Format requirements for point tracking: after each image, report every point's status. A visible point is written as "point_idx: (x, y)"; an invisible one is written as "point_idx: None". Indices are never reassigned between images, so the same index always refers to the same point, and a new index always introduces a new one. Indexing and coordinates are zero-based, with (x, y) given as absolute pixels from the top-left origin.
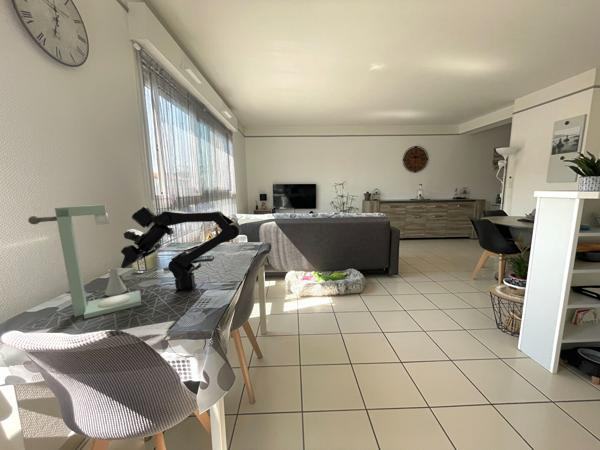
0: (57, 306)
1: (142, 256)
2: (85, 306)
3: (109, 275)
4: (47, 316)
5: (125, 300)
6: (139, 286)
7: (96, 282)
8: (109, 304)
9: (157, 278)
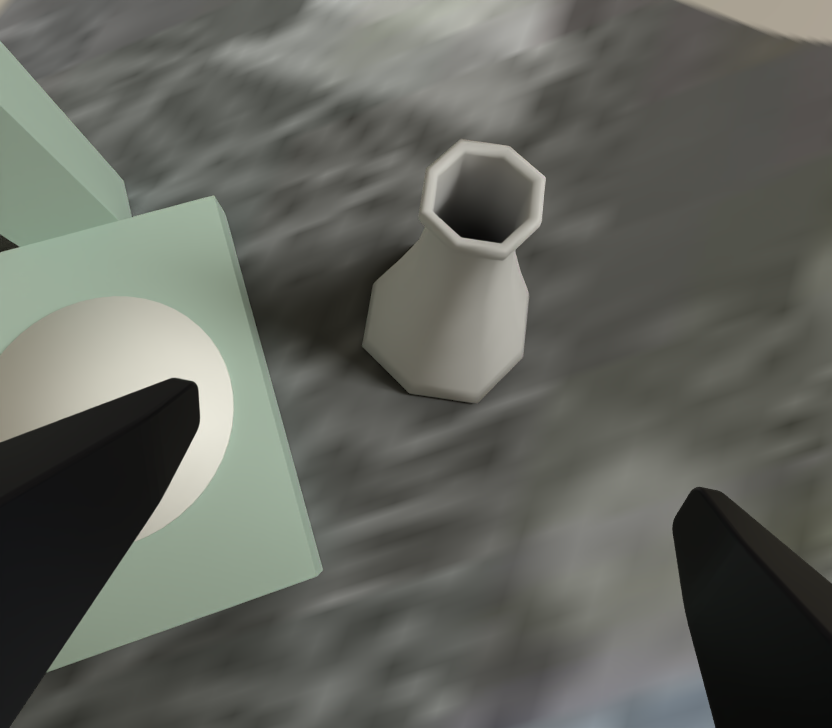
0: (310, 13)
1: (746, 724)
2: (29, 230)
3: (456, 194)
4: (141, 35)
5: None
6: (561, 484)
7: (783, 55)
8: (21, 405)
9: None
